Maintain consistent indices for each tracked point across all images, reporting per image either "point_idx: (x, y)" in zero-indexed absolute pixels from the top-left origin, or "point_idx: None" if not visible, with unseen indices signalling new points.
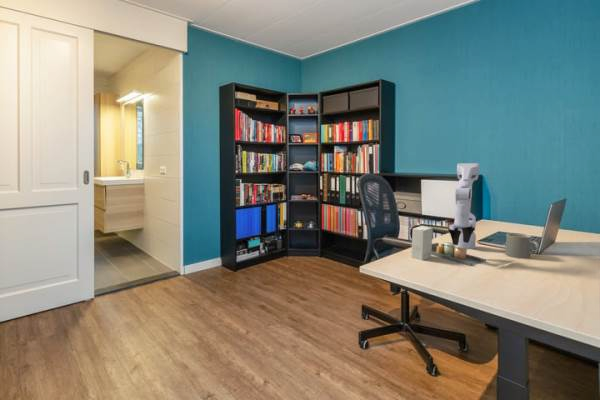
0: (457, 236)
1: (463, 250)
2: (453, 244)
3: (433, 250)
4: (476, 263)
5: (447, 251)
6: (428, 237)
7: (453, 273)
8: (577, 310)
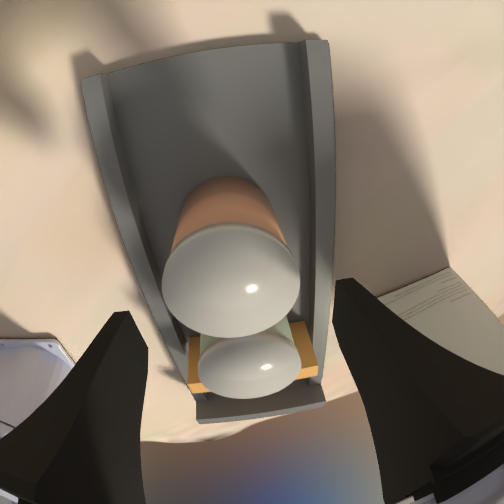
0: (448, 350)
1: (251, 219)
2: (243, 353)
3: None
4: (208, 65)
5: None
6: None
7: (488, 54)
8: None
